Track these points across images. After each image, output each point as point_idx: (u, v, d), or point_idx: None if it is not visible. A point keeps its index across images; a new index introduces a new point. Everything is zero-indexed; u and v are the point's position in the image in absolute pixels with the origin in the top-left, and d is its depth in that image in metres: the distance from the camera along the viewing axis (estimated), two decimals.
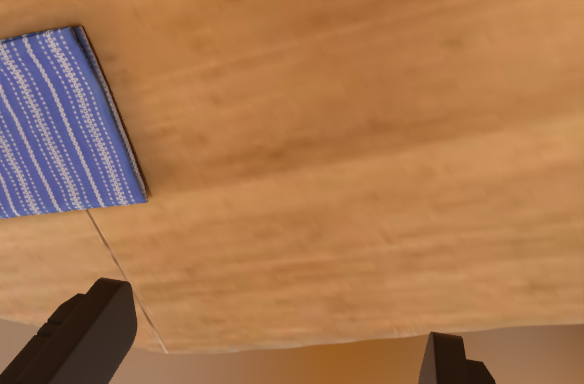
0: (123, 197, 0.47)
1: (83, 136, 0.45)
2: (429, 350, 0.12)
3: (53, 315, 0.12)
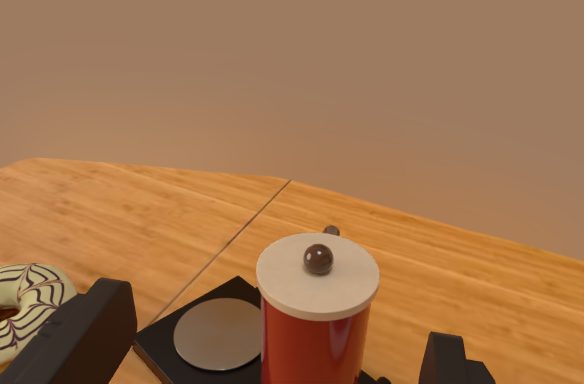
0: None
1: None
2: (429, 350, 0.12)
3: (53, 315, 0.12)
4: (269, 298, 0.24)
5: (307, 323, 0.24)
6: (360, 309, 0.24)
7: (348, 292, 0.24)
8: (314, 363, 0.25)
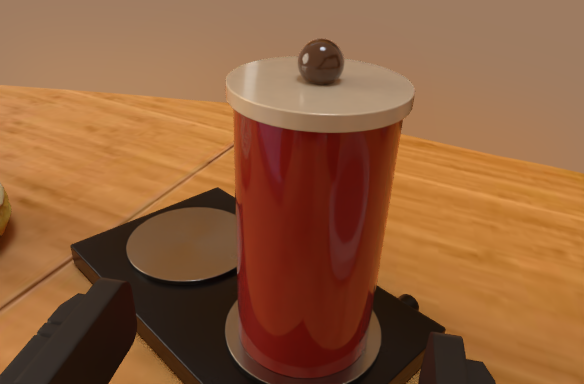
0: None
1: None
2: (429, 350, 0.12)
3: (53, 315, 0.12)
4: (243, 105, 0.15)
5: (304, 142, 0.15)
6: (387, 121, 0.15)
7: (368, 99, 0.16)
8: (314, 219, 0.16)
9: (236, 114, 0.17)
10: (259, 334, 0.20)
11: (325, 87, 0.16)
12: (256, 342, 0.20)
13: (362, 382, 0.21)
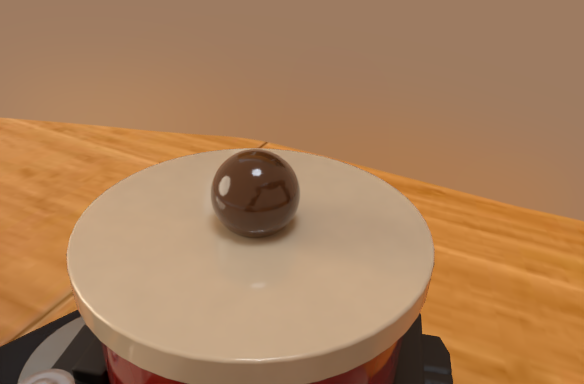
0: None
1: None
2: None
3: None
4: (81, 307, 0.07)
5: None
6: (381, 347, 0.07)
7: (341, 290, 0.08)
8: None
9: None
10: None
11: (261, 247, 0.08)
12: None
13: None
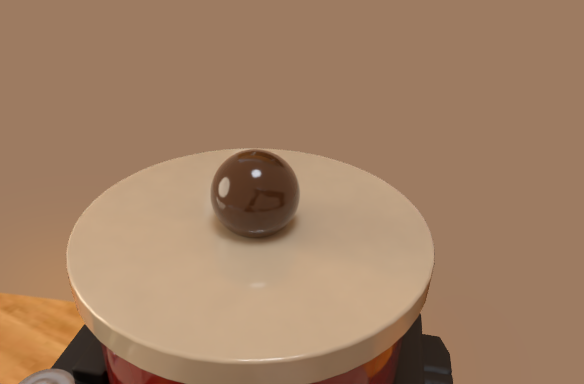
0: None
1: None
2: None
3: None
4: (80, 307, 0.07)
5: None
6: (381, 347, 0.07)
7: (341, 290, 0.08)
8: None
9: None
10: None
11: (261, 247, 0.08)
12: None
13: None
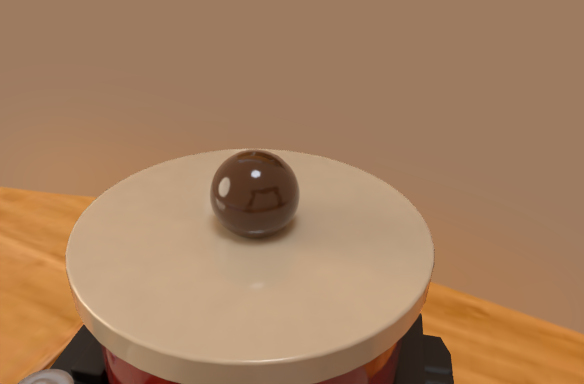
0: None
1: None
2: None
3: None
4: (80, 308, 0.07)
5: None
6: (380, 348, 0.07)
7: (341, 291, 0.08)
8: None
9: None
10: None
11: (260, 248, 0.08)
12: None
13: None
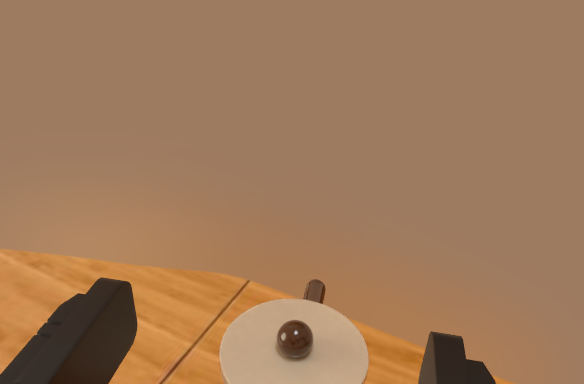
0: None
1: None
2: (429, 350, 0.12)
3: (53, 315, 0.12)
4: None
5: None
6: None
7: None
8: None
9: None
10: None
11: (298, 363, 0.21)
12: None
13: None
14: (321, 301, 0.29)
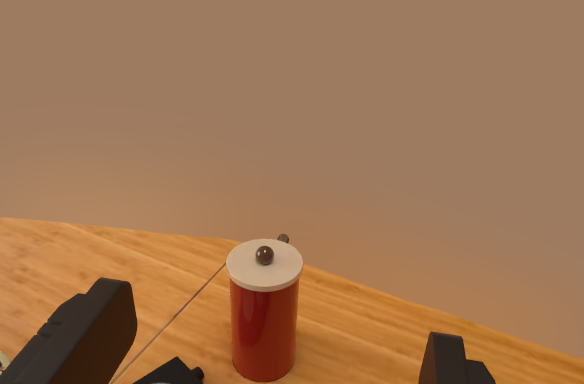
0: None
1: None
2: (429, 350, 0.12)
3: (53, 315, 0.12)
4: (233, 278, 0.40)
5: (256, 293, 0.40)
6: (287, 285, 0.40)
7: (281, 275, 0.40)
8: (261, 319, 0.41)
9: None
10: (241, 362, 0.45)
11: (266, 266, 0.41)
12: (240, 365, 0.45)
13: None
14: None
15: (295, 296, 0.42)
